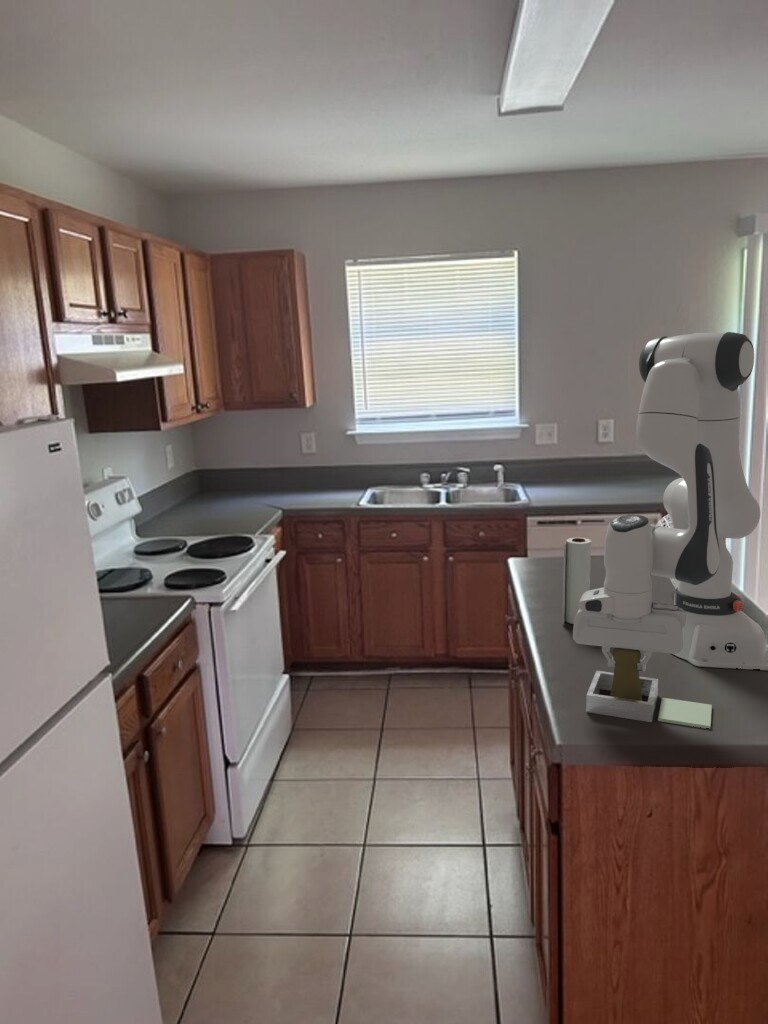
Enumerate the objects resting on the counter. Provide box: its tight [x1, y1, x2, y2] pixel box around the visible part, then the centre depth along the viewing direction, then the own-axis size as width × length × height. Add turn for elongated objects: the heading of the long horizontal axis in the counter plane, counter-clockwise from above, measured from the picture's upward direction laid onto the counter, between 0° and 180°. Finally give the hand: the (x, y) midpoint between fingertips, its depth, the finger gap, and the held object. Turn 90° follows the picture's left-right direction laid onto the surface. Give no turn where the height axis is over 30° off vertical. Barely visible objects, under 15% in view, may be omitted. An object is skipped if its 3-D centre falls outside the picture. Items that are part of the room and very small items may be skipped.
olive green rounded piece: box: [609, 647, 643, 701], centre depth 149 cm, size 6×6×11 cm
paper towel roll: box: [562, 537, 592, 625], centre depth 193 cm, size 7×6×21 cm
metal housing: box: [585, 670, 659, 723], centre depth 150 cm, size 12×12×4 cm
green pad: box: [657, 697, 713, 730], centre depth 145 cm, size 9×9×1 cm
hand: (626, 668), depth 149 cm, fingers closed on olive green rounded piece, 4 cm apart
